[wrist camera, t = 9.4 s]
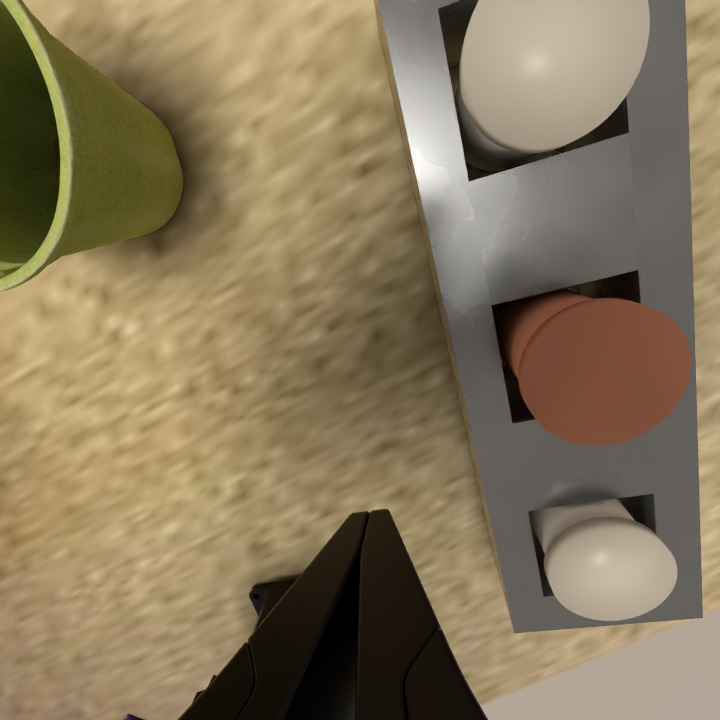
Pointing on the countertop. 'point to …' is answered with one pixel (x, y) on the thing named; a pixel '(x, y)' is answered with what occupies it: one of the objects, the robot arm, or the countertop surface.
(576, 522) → the ivory plug far
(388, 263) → the countertop surface
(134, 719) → the supplement box
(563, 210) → the socket block
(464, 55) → the ivory plug near
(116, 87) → the plant pot
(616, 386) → the rust plug
